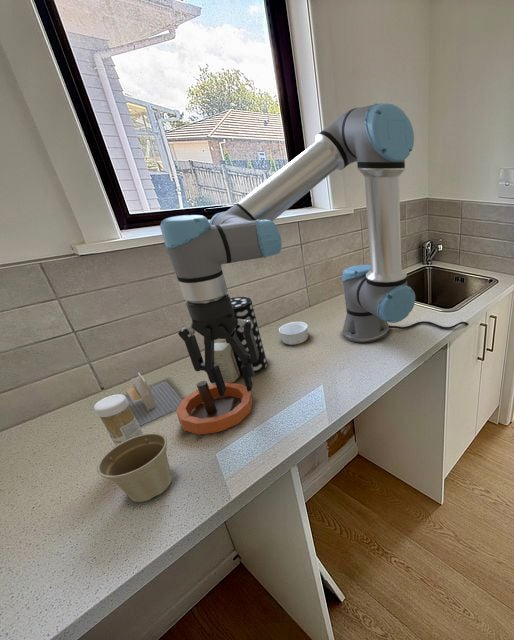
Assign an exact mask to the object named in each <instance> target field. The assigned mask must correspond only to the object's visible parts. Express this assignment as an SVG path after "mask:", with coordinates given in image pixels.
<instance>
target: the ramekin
mask: <svg viewBox="0 0 514 640" xmlns="http://www.w3.org/2000/svg"><path fill="white" fill-rule="evenodd" d="M308 327H309V326H308V324H307V323H305V322H303V321H291V322H287V323H285V324H282V325H281V326H280V327H279V328H278V332H279V334H280V338H281V341H282V342H283V343H284V344H286V345H291V346H293V345H299V344H303V343H304V342H305V341H307V340H308V338H309V330H308Z"/></svg>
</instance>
